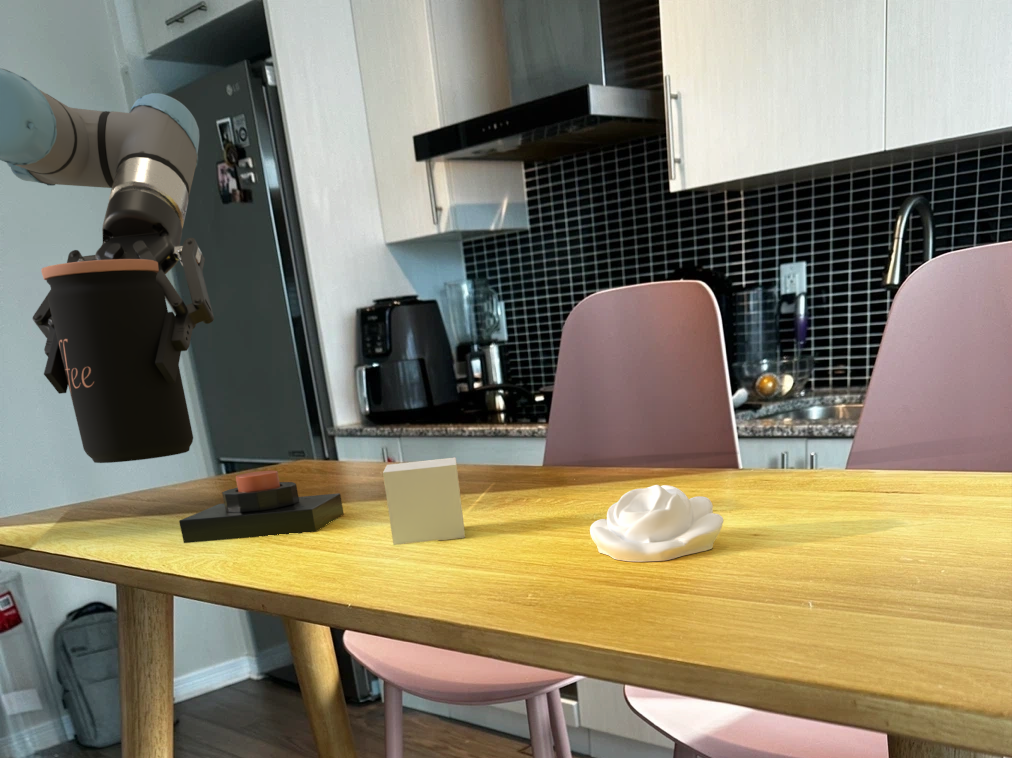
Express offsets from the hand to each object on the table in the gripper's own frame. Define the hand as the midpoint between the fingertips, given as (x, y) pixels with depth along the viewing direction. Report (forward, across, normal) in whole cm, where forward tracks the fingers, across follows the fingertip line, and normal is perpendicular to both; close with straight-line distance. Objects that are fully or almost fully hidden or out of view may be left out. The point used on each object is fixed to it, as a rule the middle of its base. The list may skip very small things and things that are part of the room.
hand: (109, 378), depth 100 cm
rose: (+30, -52, +8) cm, 60 cm away
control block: (+12, -14, -9) cm, 21 cm away
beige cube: (+21, -32, -1) cm, 38 cm away
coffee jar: (+3, 0, -8) cm, 9 cm away
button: (+10, -14, -7) cm, 18 cm away
